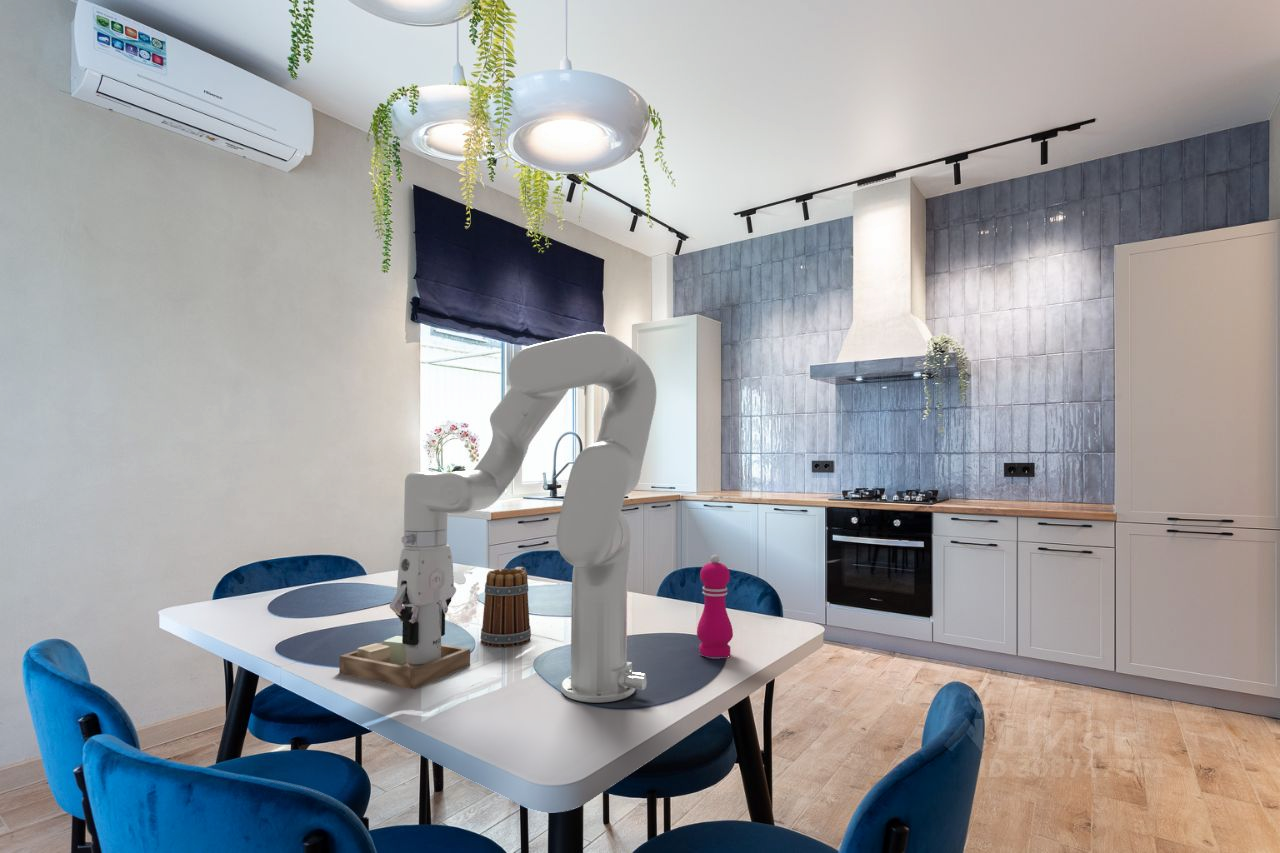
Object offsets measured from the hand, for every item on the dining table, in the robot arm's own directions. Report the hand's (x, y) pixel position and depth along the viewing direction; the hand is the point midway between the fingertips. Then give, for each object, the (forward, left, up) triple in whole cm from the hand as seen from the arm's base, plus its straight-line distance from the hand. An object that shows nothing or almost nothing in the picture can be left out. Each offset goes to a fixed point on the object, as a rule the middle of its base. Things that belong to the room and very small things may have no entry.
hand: (424, 638), depth 120 cm
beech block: (+9, +3, -6) cm, 11 cm away
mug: (0, -26, -7) cm, 27 cm away
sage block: (+9, -3, -6) cm, 11 cm away
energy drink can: (0, 0, -5) cm, 5 cm away
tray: (+4, 0, -7) cm, 8 cm away
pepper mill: (-43, -36, -7) cm, 56 cm away
